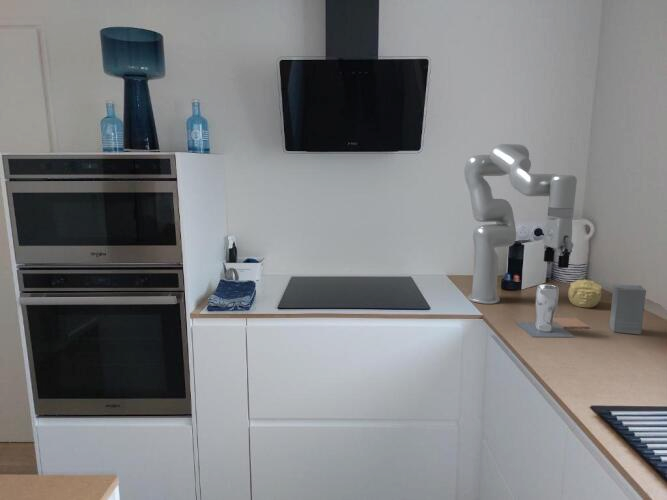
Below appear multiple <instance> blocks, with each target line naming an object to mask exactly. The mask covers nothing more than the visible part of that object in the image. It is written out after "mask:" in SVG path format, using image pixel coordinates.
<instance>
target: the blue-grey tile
mask: <svg viewBox="0 0 667 500" xmlns="http://www.w3.org/2000/svg"><path fill="white" fill-rule="evenodd" d="M535 323H536V321H515V324H516V325H517V326H518V327H520V328H521V329H522V330H523V331H524V332H525V333H527V334H528V335H529V336H530V337H532V338H576V336H575V335H573V334H572V333H571V332H569V331H568V330H566V328H562V327H561V326H560V325H558V324H557V323H555V322H554V321H553V325H554V331H552V332H542V331H539V330H536V329H535V328H534V326H535Z"/></svg>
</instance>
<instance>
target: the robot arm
mask: <svg viewBox="0 0 667 500" xmlns="http://www.w3.org/2000/svg"><path fill="white" fill-rule="evenodd" d="M531 167H532V161H531V158H530V152H529V149H528V148H527V147H526V146H525V145H523V144H515V143H514V144H513V143H512V144H511V143H501V144H498V145H496V146H494V147H493V148H492V149H491V150H490V152H489V154H476V155H473V156H471V157H469V158H468V159H467V161H466V162H465V166H464V171H463V172H464V179H465V181H466V185H467V188H468V190H469V196H470V203H471V209H472V214H473V217H474V220H475V221H476V222H479V223H492V224H482V225H479V226H477V227H476V228H475V229H474V230H473V233H472V240H473V251H474V253H473V254H474V255H473V257H474V258H473V270H472V271H473V274H472V289H471V293H469V294H468V295H467V299H468V300H469V301H471V302H474V303H477V304H483V305H484V304H485V305H493V304H498V303H499V302H500V300H501V299H500V297H499V296H498V295H497V285H498V284H497V283H498V272H499V271H498V270H499V256H498V253H497V252H496V250H495V248H509V247H511V246H513V245H514V244H515V242H516V240H517V227H516V222H515V217H514V216H515V215H514V211H513V207H512V204H511V203H510V202H509V201H508V200H507V199H503V198H494V197H493V193H492V187H491V186H490V183H489V182H488V181H487V179H485V178H484V177H502V176H506V175H509V176H508V177H509V178H508V179H509V181H510V184H511V186H512V188H514V189H515V190H516V191H518V192H519V193H520V194H522V195H523V196H526V197H548V206H547V216H546V217H547V218H546V221H545V227H544V231H543V232H544V233H543V240H542V241H543V242H542V244H543V245H544V247H543V248H544V251H543V253H544V255H543V262H547V263H548V262H549V263H553V262H554V259H555V251H556V250H557V249H558V253H559V255H558V259H557V267H558V269H568V268H569V265H570V264H569V263H570V256H571V253H572V250H573V247H574V243H573V242H572V241H573V240H572V239H573V219H574V212H575V203H576V202H575V201H576V192H577V191H576V190H577V185H578V183H577V182H578V179H577V177H576V176H575V175H572V174H558V173H557V174H555V173H530V170H531ZM493 223H494V224H493Z"/></svg>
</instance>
